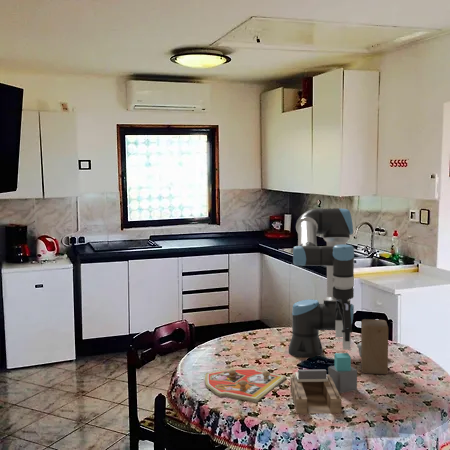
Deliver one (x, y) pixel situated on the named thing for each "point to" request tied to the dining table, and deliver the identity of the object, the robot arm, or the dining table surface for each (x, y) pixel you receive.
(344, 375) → the stand
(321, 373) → the lid
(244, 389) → the knob puzzle
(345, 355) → the block
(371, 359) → the wooden block
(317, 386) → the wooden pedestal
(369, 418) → the dining table surface
